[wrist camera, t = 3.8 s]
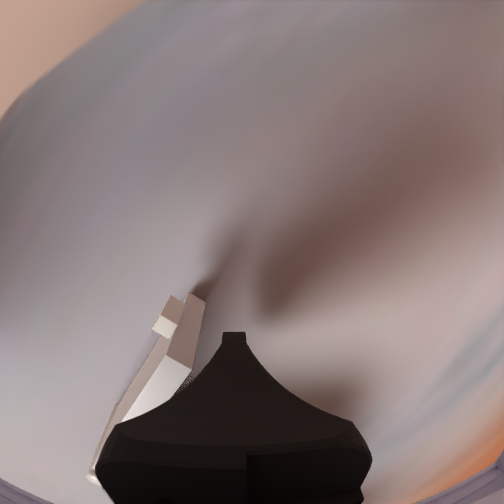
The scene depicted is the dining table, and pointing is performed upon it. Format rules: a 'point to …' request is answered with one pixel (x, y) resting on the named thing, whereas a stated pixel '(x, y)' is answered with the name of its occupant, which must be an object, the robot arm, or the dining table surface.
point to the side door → (159, 366)
